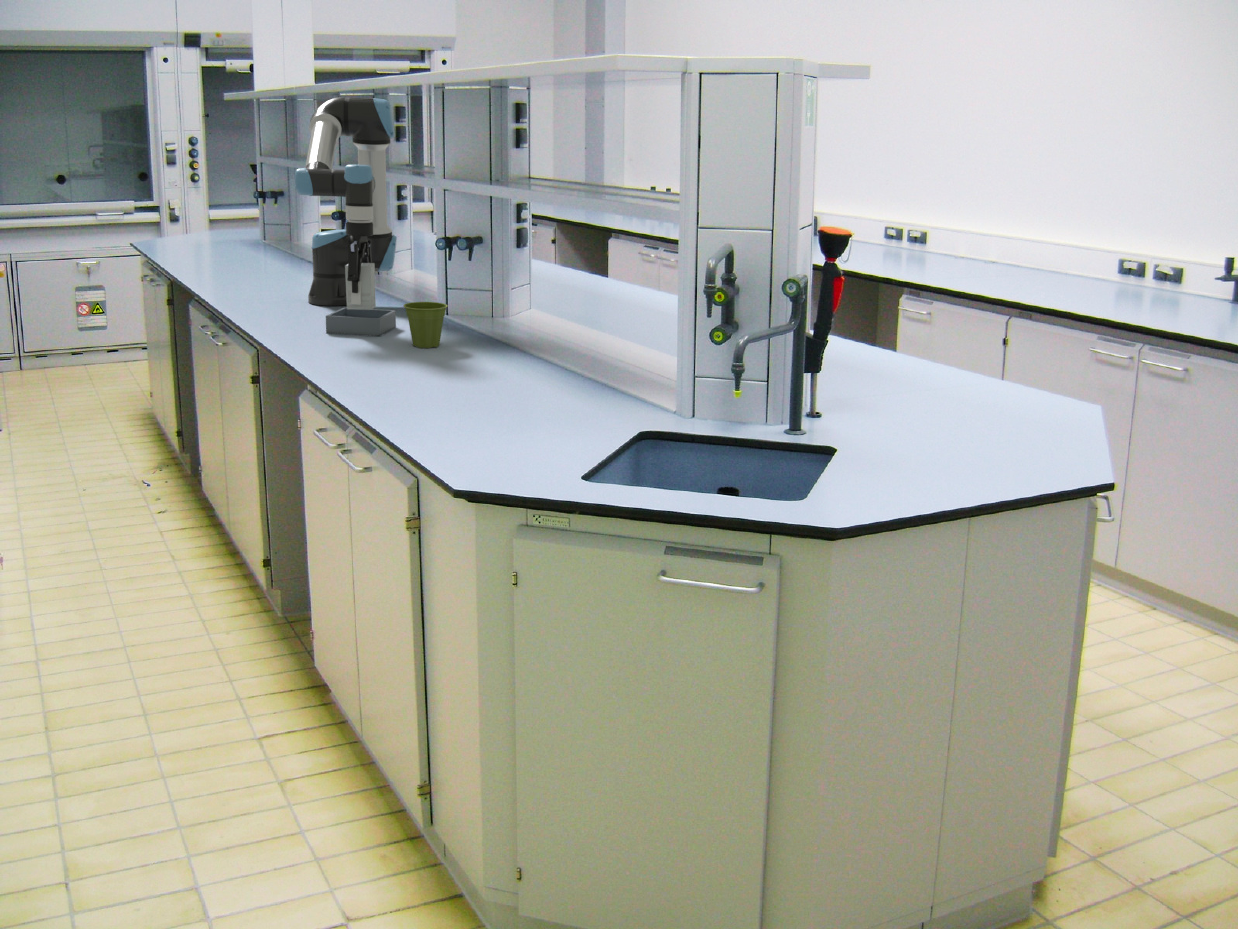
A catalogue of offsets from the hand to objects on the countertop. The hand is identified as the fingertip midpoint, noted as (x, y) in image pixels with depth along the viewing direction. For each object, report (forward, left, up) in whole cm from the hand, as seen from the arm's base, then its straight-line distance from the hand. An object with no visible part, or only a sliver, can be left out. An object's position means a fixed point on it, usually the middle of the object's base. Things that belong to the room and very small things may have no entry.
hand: (361, 301), depth 336 cm
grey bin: (0, 0, -8) cm, 8 cm away
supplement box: (0, 0, -2) cm, 2 cm away
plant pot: (+17, +23, -9) cm, 30 cm away
